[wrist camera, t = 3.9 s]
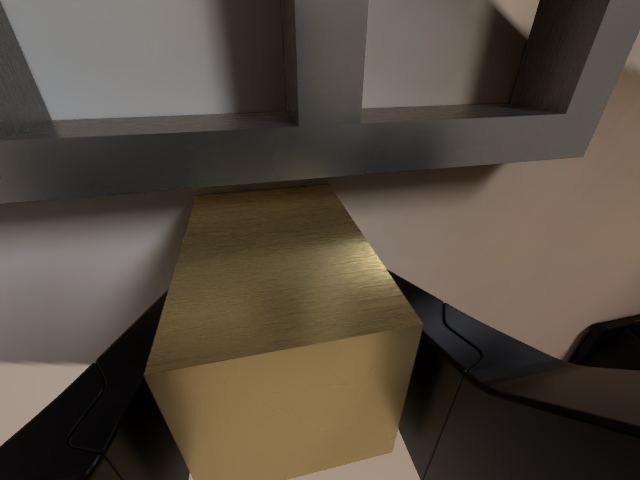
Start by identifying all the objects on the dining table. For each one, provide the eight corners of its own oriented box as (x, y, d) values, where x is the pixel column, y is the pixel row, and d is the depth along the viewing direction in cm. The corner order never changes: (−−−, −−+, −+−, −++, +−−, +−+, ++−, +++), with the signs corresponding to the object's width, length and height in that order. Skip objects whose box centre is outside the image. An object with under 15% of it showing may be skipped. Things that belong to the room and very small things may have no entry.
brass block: (327, 282, 12) (391, 451, 7) (219, 298, 11) (204, 501, 6) (328, 184, 10) (423, 324, 5) (196, 195, 9) (143, 374, 4)
